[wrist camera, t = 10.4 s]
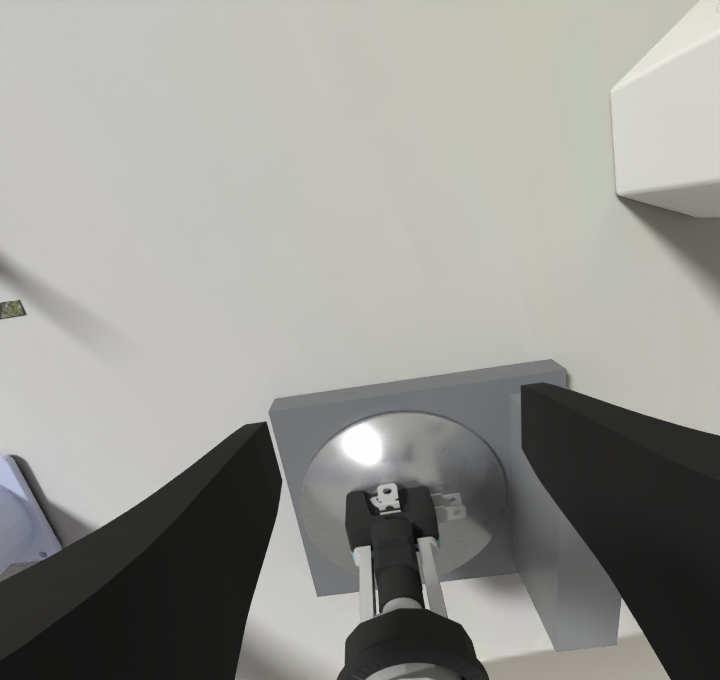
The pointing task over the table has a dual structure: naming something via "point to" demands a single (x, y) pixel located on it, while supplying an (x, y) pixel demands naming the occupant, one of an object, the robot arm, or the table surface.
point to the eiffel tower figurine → (11, 309)
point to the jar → (672, 119)
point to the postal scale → (445, 488)
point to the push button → (403, 590)
